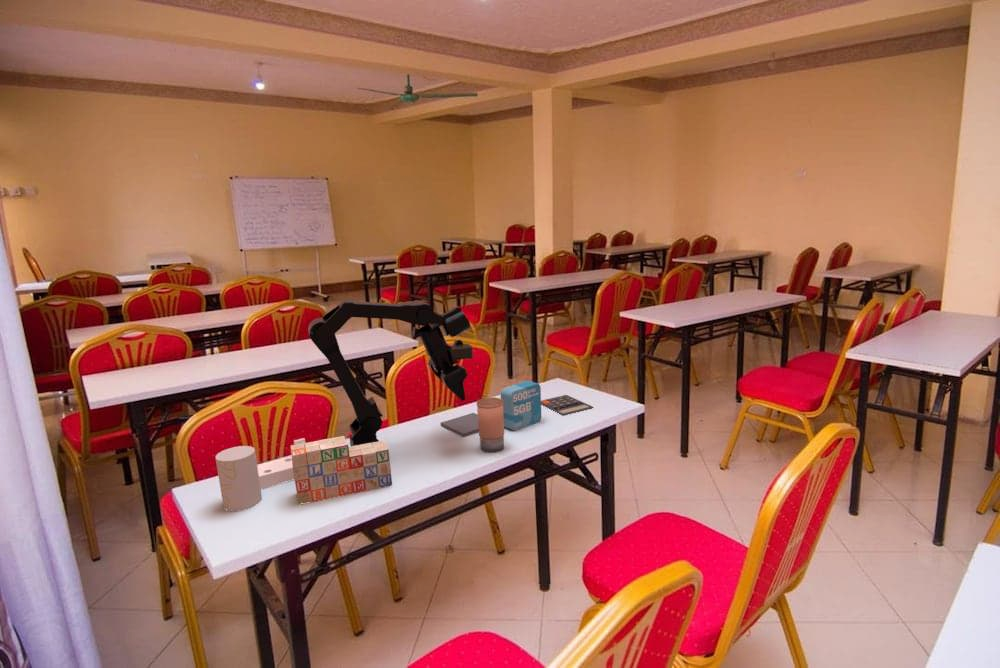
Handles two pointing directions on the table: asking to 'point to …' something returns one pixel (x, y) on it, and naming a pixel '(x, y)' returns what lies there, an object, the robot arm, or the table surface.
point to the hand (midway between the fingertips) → (459, 395)
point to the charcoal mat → (463, 425)
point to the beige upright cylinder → (238, 478)
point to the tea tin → (492, 444)
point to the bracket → (277, 470)
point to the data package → (521, 405)
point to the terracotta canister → (490, 418)
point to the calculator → (565, 405)
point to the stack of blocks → (338, 468)
